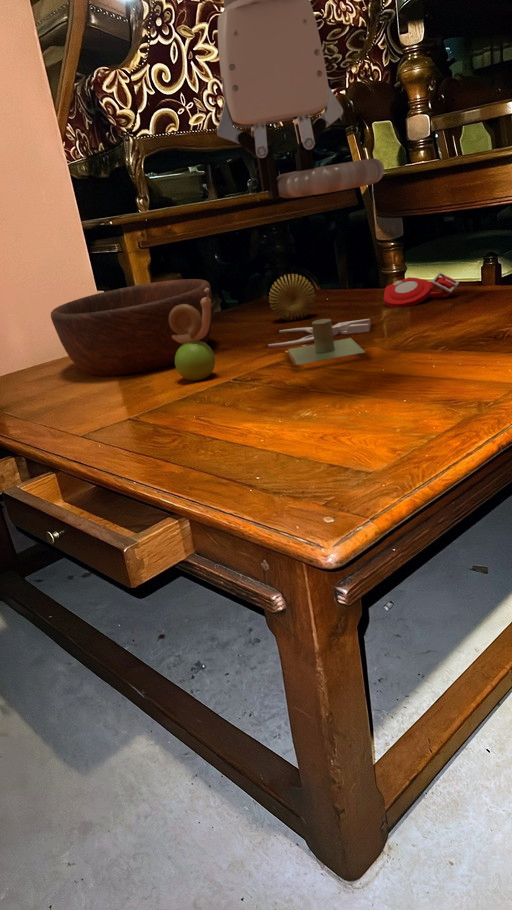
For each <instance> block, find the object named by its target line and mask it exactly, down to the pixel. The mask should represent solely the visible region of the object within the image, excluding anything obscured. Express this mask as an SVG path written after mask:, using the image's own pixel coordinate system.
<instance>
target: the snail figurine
mask: <svg viewBox="0 0 512 910" xmlns="http://www.w3.org/2000/svg"><path fill="white" fill-rule="evenodd" d="M204 292H205V293H208V294H207V297H204V298H202V300H201V306H202V318H201V315H200V313H199V312H198V310H197V309H196V308H194V307H193V306H191V305H188V304H180V305H177V306H175V307H174V308H173V309H172V310H171V312H170V314H169V325H170V327H171V329H172V330H173V331H174V332H175V333H177V334H178V335H172V338H173V339H174V340H176V341H177V342H179V343H182V344H183V345H182V346H180V348H179V349H178V350H177V352H176V355H175V364H174V366H175V369H176V371H177V373H178V374H179V375H180V376H181V377H182V378H183V379H185V380H187V381H190V382H198V381H203V380H205V379H207V378H208V377H209V376H211V374H212V373H213V371H214V369H215V365H216V357H215V354H214V353H215V352H214V351H213V349H212V348H211V346H210V345H208V343H207V344H205V343H203V342H201V341H199V340H200V339H202V338H203V337H204V336H205V335H206V334H207V332H208V330H209V326H210V316H211V311H210V307H211V300H210V299H209V297H208V296H209V288H206V289H205V290H204Z"/></svg>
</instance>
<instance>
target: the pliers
mask: <svg viewBox="0 0 512 910" xmlns="http://www.w3.org/2000/svg"><path fill="white" fill-rule="evenodd" d="M371 328H372V322H371V319H370V318H366V319H365V318H364V319H357V320H350V321H349V320H348V321H343V322H338V323H336V324H334V325H332V330H333V337H334V336H337V335H348V334H349V335H350V334H360V333H368V332H370V331H371ZM278 332H279V334H282V333H294V332H305V333H308V334H310V335H306V336H304V337H301V338H299V339H296V340H290V341H289V340H288V341H284V342H276V343H269V344H267V347H268V348H276V347H286V346H294V345H300V344H305V343H311V342H314V336H313V328H312V326H309V327H307V326H305V327H295V328H287V329H281V330H278Z"/></svg>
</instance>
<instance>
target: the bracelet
mask: <svg viewBox="0 0 512 910" xmlns="http://www.w3.org/2000/svg"><path fill="white" fill-rule="evenodd" d="M384 173H385V166H384V164H383V162H382V161H381V160H379V159H378V158H373V157H371V158H366V159H365V158H364V159H360V160H354V161H348V162H341V163H337V164H330V165H324V166H323V165H322V166H318V167H314V169H309V170H304V171H298V172H297V170H296V171H291V172H285V173H282V174H279V175H278V176H277V183H278V190H279V197H280V198H283V199H293V198H302V197H309V196H315V195H323V194H329V193H334V192H339V191H346V190H351V189H356V188H360V187H365V186H370V185H373V184H376V183H378V182H379V181H380V180H381V179H382V178H383V177H384Z"/></svg>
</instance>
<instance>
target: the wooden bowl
mask: <svg viewBox="0 0 512 910" xmlns="http://www.w3.org/2000/svg"><path fill="white" fill-rule="evenodd" d="M206 288H209V296H208V297H209V299H210V300H211V307H210V311H211V316H210V326H209V330H208V332H207V334H206V335H205V336H204V337H203V338H202V339H200V340H199V341H201V342H203V343H205V344H207V345H208V341H209V339H210V335H211V332H212V324H213V323H212V322H213V304H212V303H213V301H212V289H211V284H210V282H209V281H207V280H206V279H199V278H186V279H185V278H184V279H183V278H182V279H171V280H164V281H156V282H148V283H142V284H137V285H131V286H126V287H121V288H116V289H112V290H107V291H102V292H99V293H95V294H91V295H86V296H84V297H80V298H77V299H74V300H71V301H68V302H65V303H63V304H60V305H58V306H57V307H54V308H53V309H52V310H51V311H50V319H51V322H52V325H53V327H54V329H55V332H56V334H57V336H58V338H59V341H60V343H61V345H62V347H63V349H64V350H65V353H66V354H67V356H68V357H69V359H70V360H71V361H72V362H73V364H74V365H75V366H76V367H77V368H78V369H79V370H80V371H81V372H83V373H85V374H87V375H89V376H94V377H118V376H128V375H135V374H141V373H146V372H150V371H155V370H159V369H164V368H167V367H170V366H175V355H176V352H177V350H178V349H179V348H180V346H182V345H183V344H182V343H179V342H177V341H176V340H174V339H173V338H172V335H178V334H177V333H175V332H174V331H173V330H172V329H171V327H170V325H169V314H170V312H171V310H172V309H173V308H174V307H175V306H177V305H180V304H188V305H191V306H193V307H194V308H196V309H197V310H198V312H199V313H200V315H201V318H202V306H201V300H202V298H204V297H207V294H208V293H205V292H204V290H205V289H206Z"/></svg>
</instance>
